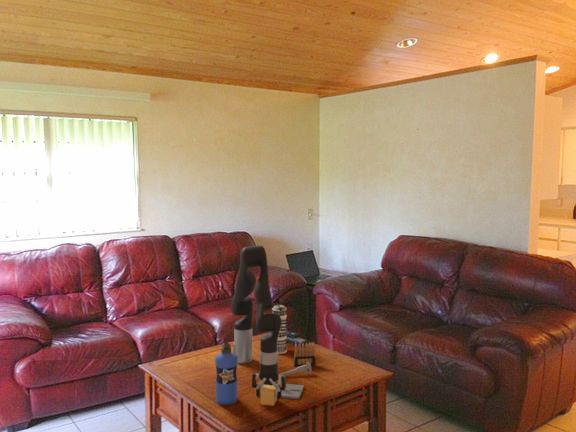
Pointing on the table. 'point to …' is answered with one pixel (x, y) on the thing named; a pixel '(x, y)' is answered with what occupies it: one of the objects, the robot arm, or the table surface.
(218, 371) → the water bottle
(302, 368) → the caliper
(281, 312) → the decorative candle
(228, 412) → the table surface
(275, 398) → the mustard yellow cube
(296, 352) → the ammunition clip
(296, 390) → the post board
